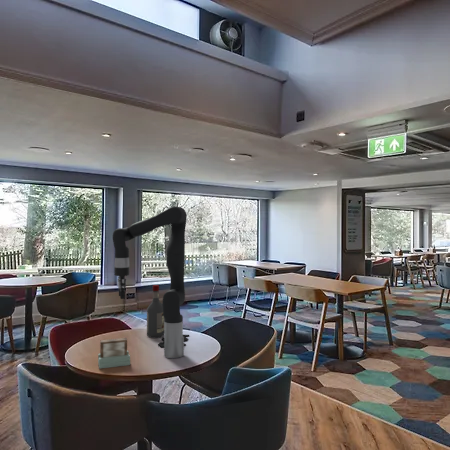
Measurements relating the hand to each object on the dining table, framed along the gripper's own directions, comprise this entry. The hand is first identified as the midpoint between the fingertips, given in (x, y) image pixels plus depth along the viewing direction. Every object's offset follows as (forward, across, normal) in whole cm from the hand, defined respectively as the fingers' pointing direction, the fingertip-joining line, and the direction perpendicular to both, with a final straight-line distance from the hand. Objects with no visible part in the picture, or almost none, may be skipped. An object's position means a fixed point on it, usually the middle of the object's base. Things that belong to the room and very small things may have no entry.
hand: (121, 297), depth 199 cm
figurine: (+29, +6, -29) cm, 41 cm away
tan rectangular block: (+26, -17, +5) cm, 32 cm away
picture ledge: (+28, -17, +5) cm, 33 cm away
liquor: (+28, +23, -22) cm, 43 cm away
